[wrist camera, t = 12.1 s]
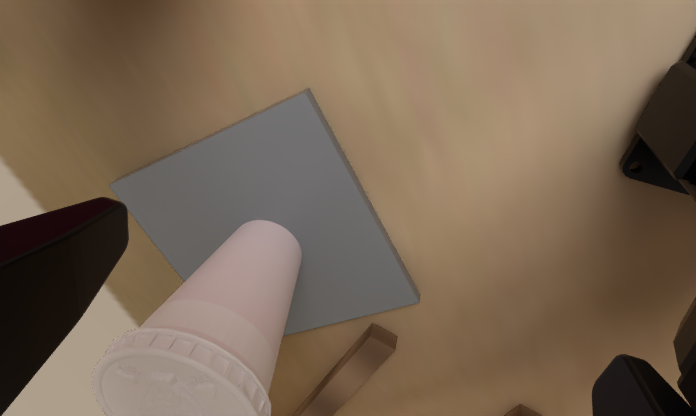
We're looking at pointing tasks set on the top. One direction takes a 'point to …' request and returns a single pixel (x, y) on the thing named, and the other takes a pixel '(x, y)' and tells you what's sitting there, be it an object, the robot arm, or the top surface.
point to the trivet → (275, 210)
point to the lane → (359, 375)
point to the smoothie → (209, 335)
